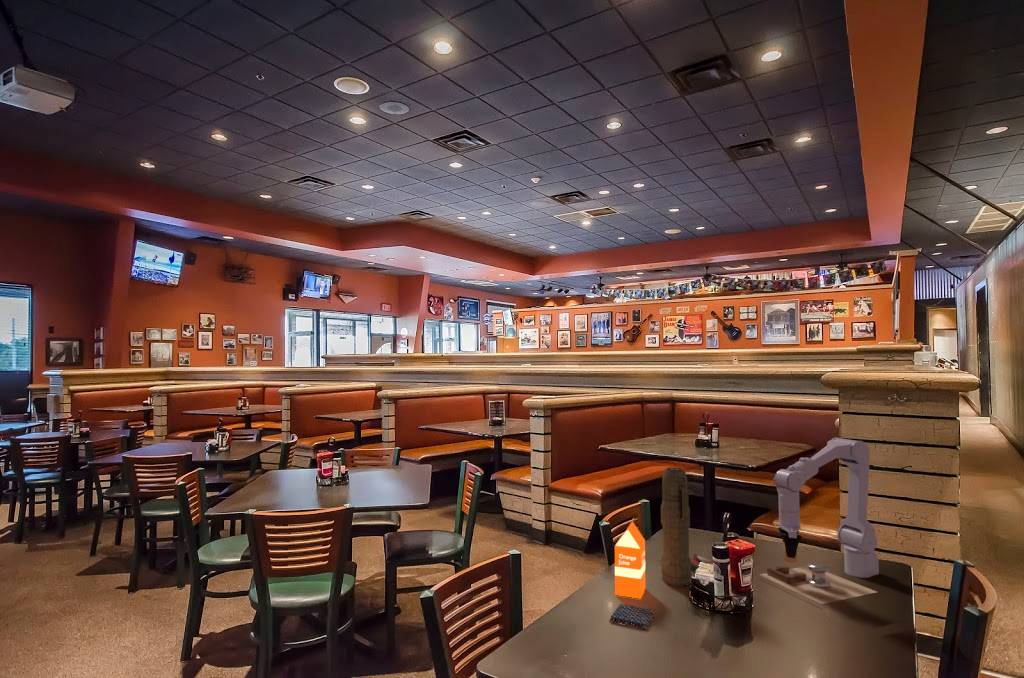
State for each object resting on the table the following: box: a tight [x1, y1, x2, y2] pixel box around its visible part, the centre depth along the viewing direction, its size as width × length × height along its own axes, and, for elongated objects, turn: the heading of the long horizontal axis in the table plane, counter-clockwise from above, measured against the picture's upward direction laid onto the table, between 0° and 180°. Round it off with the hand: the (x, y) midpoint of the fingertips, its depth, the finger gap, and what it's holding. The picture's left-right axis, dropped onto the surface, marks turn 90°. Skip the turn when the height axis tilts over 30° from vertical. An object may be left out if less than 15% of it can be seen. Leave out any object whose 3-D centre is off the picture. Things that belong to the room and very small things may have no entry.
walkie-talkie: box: [690, 553, 711, 572], centre depth 188 cm, size 9×4×20 cm
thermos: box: [660, 466, 692, 587], centre depth 178 cm, size 9×12×35 cm
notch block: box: [766, 565, 806, 584], centre depth 176 cm, size 8×8×2 cm
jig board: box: [759, 565, 878, 610], centre depth 172 cm, size 22×23×2 cm
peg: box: [783, 544, 798, 564], centre depth 172 cm, size 4×4×7 cm
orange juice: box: [614, 520, 646, 600], centre depth 170 cm, size 8×9×20 cm
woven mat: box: [608, 602, 656, 631], centre depth 152 cm, size 10×11×2 cm
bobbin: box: [806, 561, 831, 588], centre depth 171 cm, size 6×6×6 cm
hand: (790, 555), depth 171 cm, fingers closed on peg, 4 cm apart
